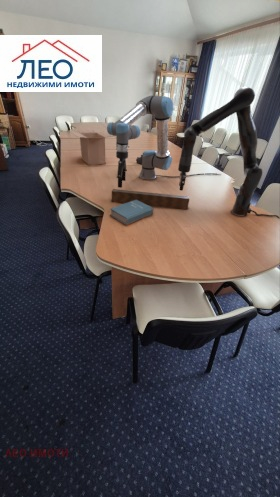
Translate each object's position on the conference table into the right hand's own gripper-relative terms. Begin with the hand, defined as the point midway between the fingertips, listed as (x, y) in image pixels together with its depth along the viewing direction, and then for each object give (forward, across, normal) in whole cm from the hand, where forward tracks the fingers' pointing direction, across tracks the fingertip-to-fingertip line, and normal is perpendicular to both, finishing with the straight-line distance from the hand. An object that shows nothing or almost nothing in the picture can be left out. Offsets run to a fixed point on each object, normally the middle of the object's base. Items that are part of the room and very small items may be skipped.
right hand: (180, 187), depth 150 cm
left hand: (+1, 0, +41) cm, 41 cm away
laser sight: (+14, +100, +31) cm, 106 cm away
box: (+14, +92, +88) cm, 128 cm away
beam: (+14, 0, +20) cm, 25 cm away
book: (+14, -20, +30) cm, 39 cm away
